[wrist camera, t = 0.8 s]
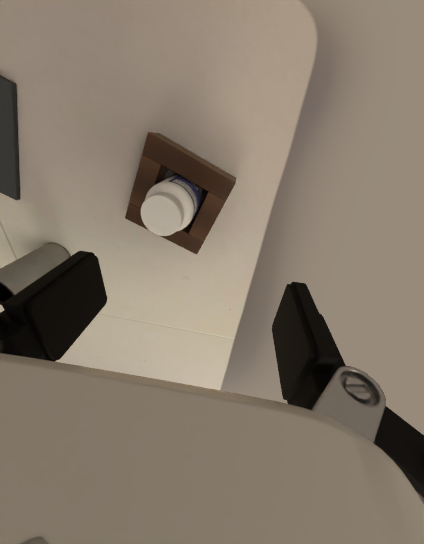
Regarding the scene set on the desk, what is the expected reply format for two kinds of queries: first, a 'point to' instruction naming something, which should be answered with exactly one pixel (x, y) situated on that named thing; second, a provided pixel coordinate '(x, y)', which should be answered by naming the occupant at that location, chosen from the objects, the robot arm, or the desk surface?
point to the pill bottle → (170, 205)
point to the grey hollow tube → (29, 269)
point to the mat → (9, 140)
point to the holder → (189, 166)
